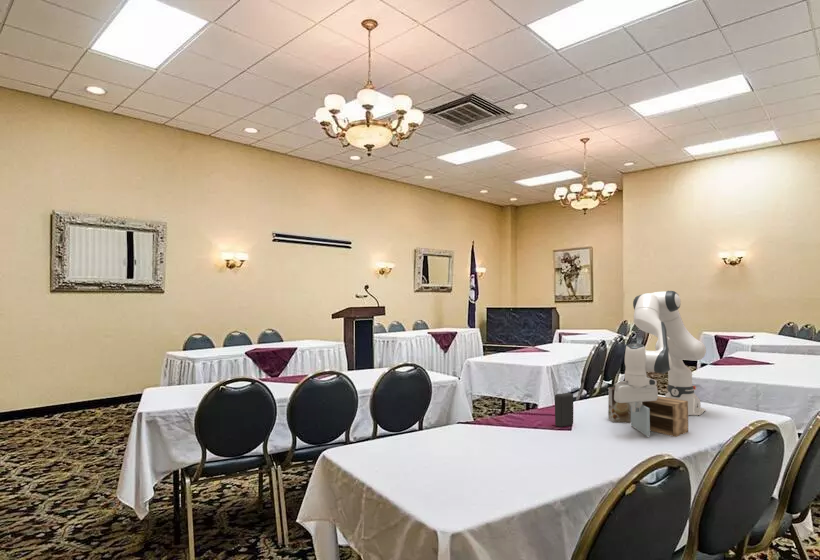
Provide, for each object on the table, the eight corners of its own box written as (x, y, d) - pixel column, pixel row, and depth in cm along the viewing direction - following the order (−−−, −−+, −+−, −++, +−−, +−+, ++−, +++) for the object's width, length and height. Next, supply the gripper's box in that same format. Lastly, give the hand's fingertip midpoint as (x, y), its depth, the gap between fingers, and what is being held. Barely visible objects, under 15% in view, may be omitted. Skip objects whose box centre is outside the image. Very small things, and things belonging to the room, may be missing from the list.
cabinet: (645, 422, 238) (644, 393, 238) (688, 432, 222) (687, 401, 222) (631, 426, 231) (631, 396, 231) (675, 436, 215) (674, 404, 215)
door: (632, 424, 230) (632, 399, 231) (649, 436, 212) (649, 408, 212) (630, 424, 230) (630, 399, 231) (647, 436, 212) (646, 408, 212)
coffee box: (612, 422, 238) (611, 389, 239) (608, 419, 245) (607, 386, 245) (631, 423, 237) (631, 389, 238) (627, 419, 244) (626, 387, 244)
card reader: (567, 423, 237) (567, 392, 237) (574, 425, 233) (574, 393, 234) (554, 425, 232) (553, 393, 233) (560, 427, 229) (560, 395, 229)
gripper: (619, 382, 213) (620, 414, 212) (660, 380, 218) (660, 412, 217) (610, 380, 219) (611, 411, 219) (649, 378, 224) (650, 408, 223)
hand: (635, 411), depth 218 cm, fingers closed
